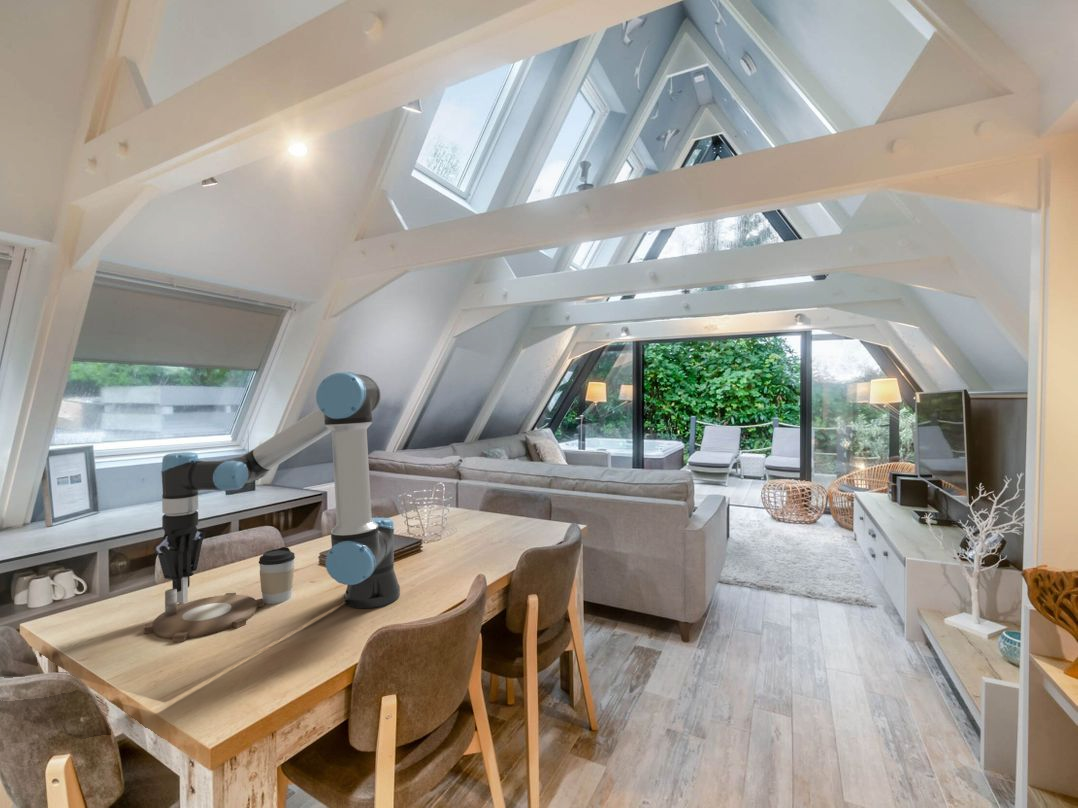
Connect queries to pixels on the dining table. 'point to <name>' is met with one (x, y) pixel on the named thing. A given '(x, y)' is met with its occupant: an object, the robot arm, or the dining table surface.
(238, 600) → the index disc
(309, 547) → the dining table surface
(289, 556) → the coffee cup
